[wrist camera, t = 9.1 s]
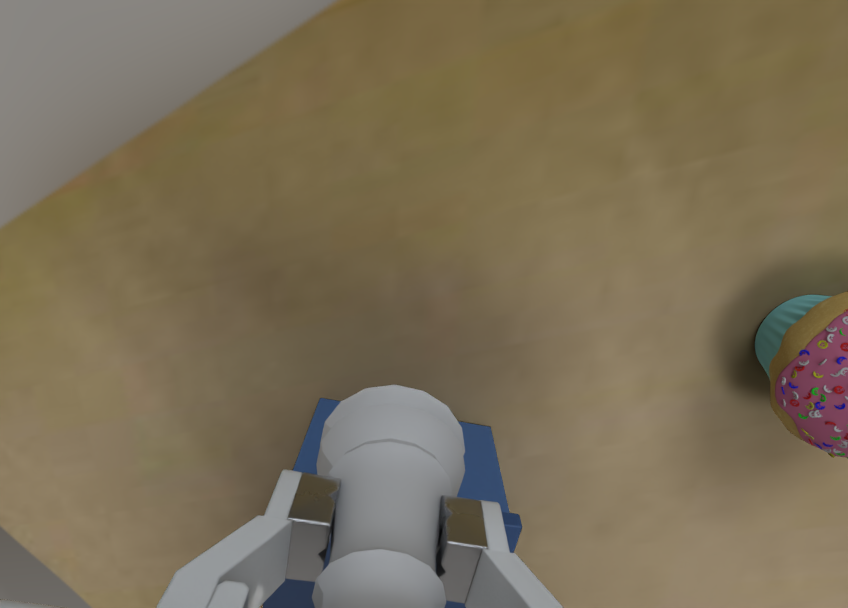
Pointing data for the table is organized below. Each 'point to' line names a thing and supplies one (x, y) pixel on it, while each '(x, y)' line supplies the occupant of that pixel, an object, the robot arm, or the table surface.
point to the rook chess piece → (388, 497)
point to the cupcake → (809, 368)
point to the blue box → (479, 483)
